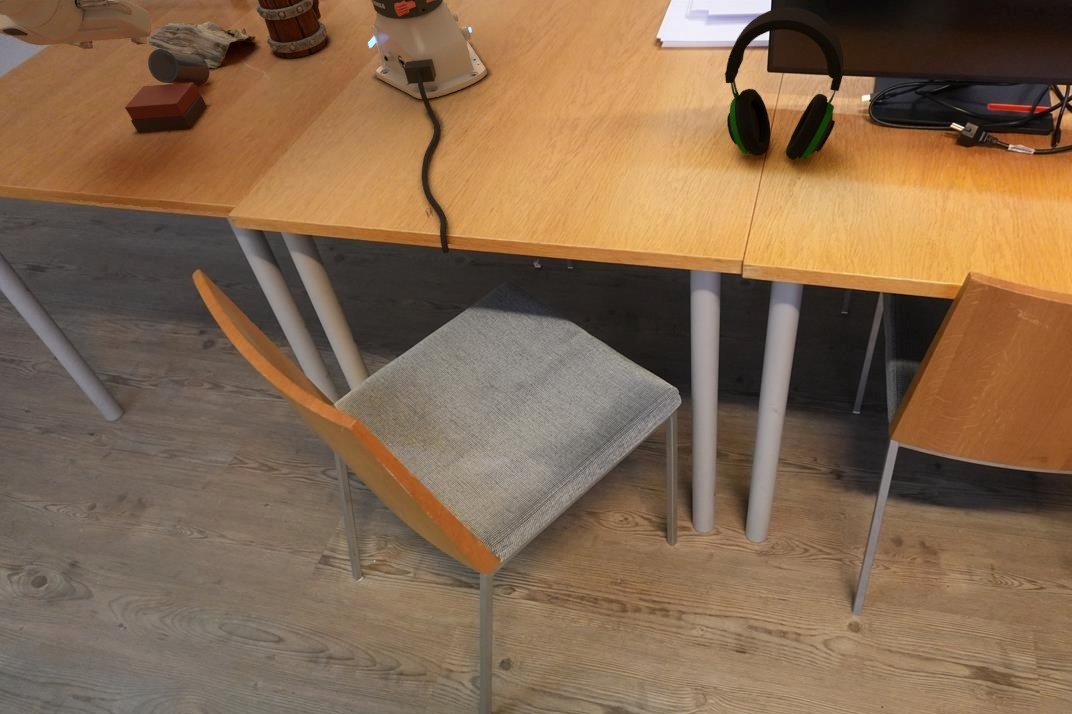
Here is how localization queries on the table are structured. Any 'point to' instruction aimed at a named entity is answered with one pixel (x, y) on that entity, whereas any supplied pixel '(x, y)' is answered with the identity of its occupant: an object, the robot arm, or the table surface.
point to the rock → (197, 40)
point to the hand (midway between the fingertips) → (115, 42)
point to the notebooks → (166, 107)
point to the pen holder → (178, 67)
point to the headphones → (749, 109)
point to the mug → (293, 26)
